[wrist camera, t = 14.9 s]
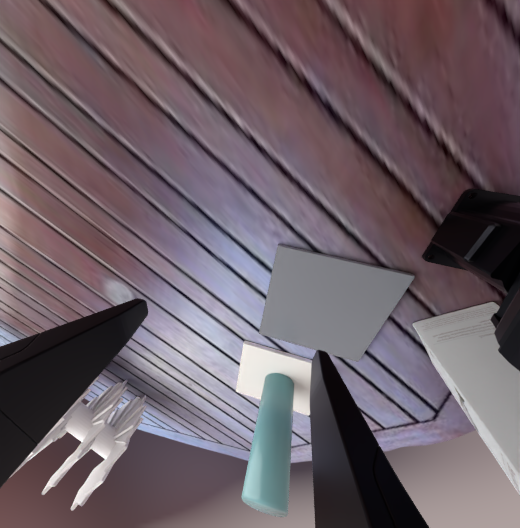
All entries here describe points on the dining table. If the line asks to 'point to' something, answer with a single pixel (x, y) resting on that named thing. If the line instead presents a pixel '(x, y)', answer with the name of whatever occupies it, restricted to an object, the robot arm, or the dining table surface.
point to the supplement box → (478, 378)
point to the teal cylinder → (271, 448)
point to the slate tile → (329, 301)
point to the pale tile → (274, 361)
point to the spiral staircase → (95, 434)
